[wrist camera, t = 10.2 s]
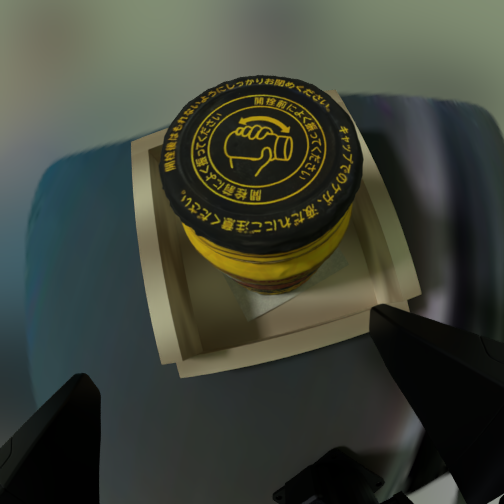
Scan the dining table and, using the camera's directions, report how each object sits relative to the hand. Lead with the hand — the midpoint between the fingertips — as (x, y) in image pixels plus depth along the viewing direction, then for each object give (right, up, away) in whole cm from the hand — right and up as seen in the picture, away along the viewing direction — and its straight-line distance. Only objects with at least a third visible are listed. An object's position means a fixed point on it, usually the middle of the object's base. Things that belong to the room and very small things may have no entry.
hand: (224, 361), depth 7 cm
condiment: (+2, +4, +11) cm, 12 cm away
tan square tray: (+2, +4, +12) cm, 12 cm away
